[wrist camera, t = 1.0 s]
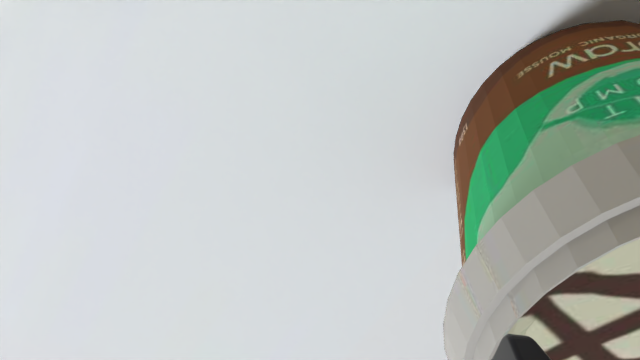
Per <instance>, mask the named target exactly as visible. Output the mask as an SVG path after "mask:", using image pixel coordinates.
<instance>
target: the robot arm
mask: <svg viewBox="0 0 640 360" xmlns="http://www.w3.org/2000/svg"><path fill="white" fill-rule="evenodd" d="M492 360H551V359H550V358H549V356H548V355H547V354H546V353H545V352H544V351H543V349H542V348H541V347H540V346H539V345H538V344H537V342H536V341H535V340H534V339H532V338H531V337H529V336H525V335H516V334H506V335H505V336H504V337H503V338H502V339H501V342H500V344H499V346H498V348H497V350H496V352H495V354H494V356H493V358H492Z"/></svg>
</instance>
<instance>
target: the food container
mask: <svg viewBox="0 0 640 360" xmlns="http://www.w3.org/2000/svg"><path fill="white" fill-rule="evenodd" d="M454 171H455V183H456V195H457V208H458V220H459V233H460V245H461V257H462V268H461V270H460V271H459V273H458V275H457V277H456V280H455V282H454V285H453V287H452V290H451V292H450V295H449V297H448V300H447V306H446V311H445V317H444V323H443V332H444V347H445V352H446V355H447V358H448V360H492V358H493V356H494V354H495V352H496V350H497V348H498V346H499V344H500V342H501V339H502V338H503V337H504V336H505V335H506V334H516V335H525V336H529V337H531V338H532V339H534V340H535V341H536V342H537V344H538V345H539V346H540V347H541V348H542V349H543V351H544V352H545V353H546V354H547V355H548V356H549V358H550V359H551V360H640V24H637V23H632V22H628V21H623V20H620V21H609V22H598V23H587V24H582V25H578V26H574V27H571V28H567V29H563V30H560V31H558V32H555V33H553V34H551V35H548V36H546V37H543V38H541V39H539V40H537V41H535V42H533V43H532V44H530V45H528V46H527V47H525V48H523V49H522V50H520V51H518V52H517V53H516V54H514V55H513V56H512V57H510V58H509V59H508V60H507V61H505V62H504V63H503V64H502V65H500V66H499V67H498V68H497V69H496V70H495V71H494V72H493V73H492V74H491V75H490V76H489V77H488V79H487V80H486V81H485V82H484V83H483V84H482V85H481V87H480V88H479V90H478V91H477V92H476V94H475V95H474V97H473V98H472V99H471V101H470V103H469V105H468V107H467V109H466V111H465V113H464V115H463V117H462V119H461V122H460V125H459V129H458V132H457V135H456V140H455V148H454Z"/></svg>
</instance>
